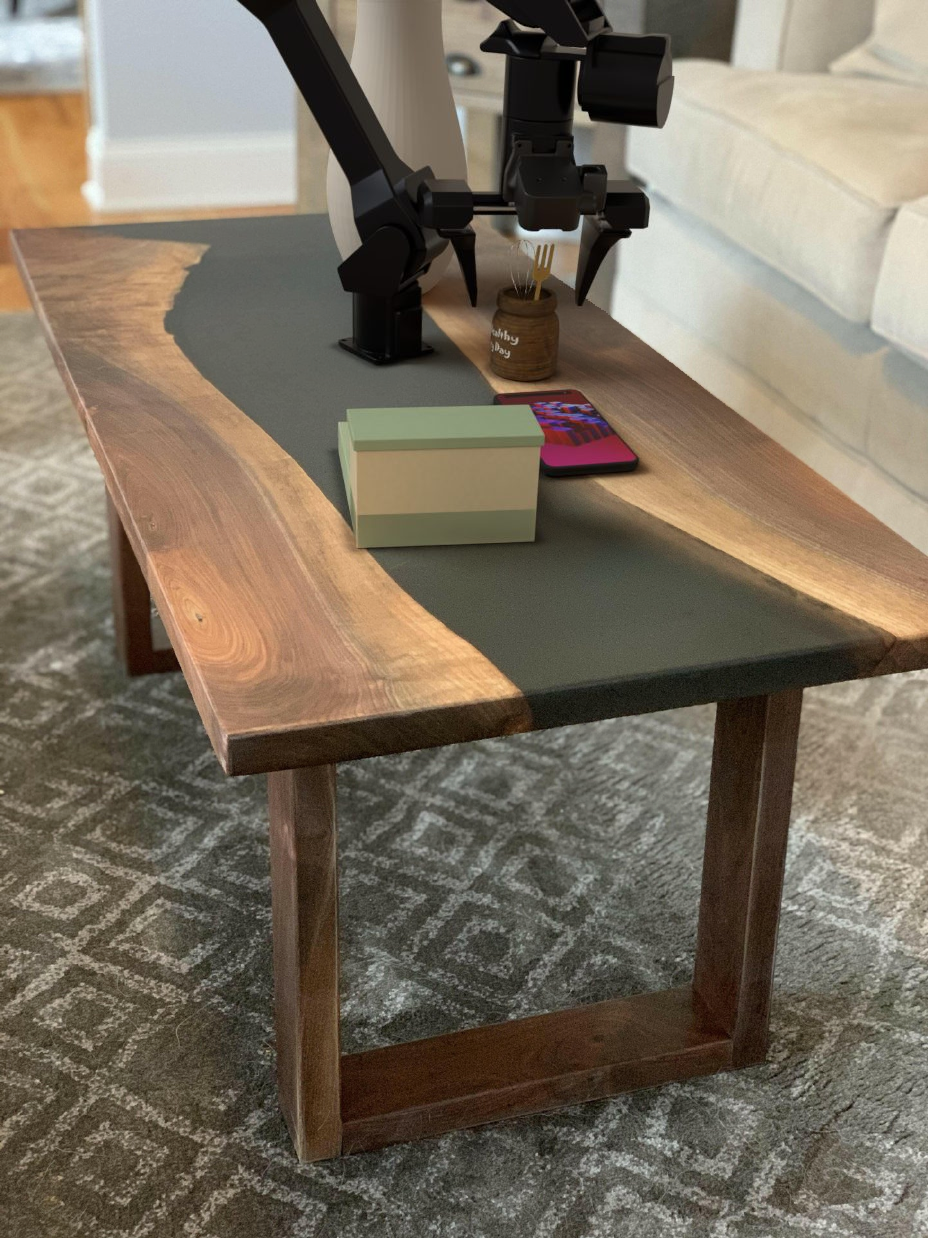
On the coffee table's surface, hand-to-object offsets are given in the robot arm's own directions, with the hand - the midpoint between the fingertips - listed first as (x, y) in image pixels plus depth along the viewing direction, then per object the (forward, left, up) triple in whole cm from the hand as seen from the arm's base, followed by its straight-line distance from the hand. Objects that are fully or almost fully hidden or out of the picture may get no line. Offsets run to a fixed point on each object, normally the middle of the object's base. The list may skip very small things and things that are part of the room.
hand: (526, 305), depth 121 cm
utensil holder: (0, 0, -6) cm, 6 cm away
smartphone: (+13, -7, -6) cm, 16 cm away
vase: (-25, +4, -6) cm, 26 cm away
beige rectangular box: (+16, -22, -6) cm, 28 cm away
